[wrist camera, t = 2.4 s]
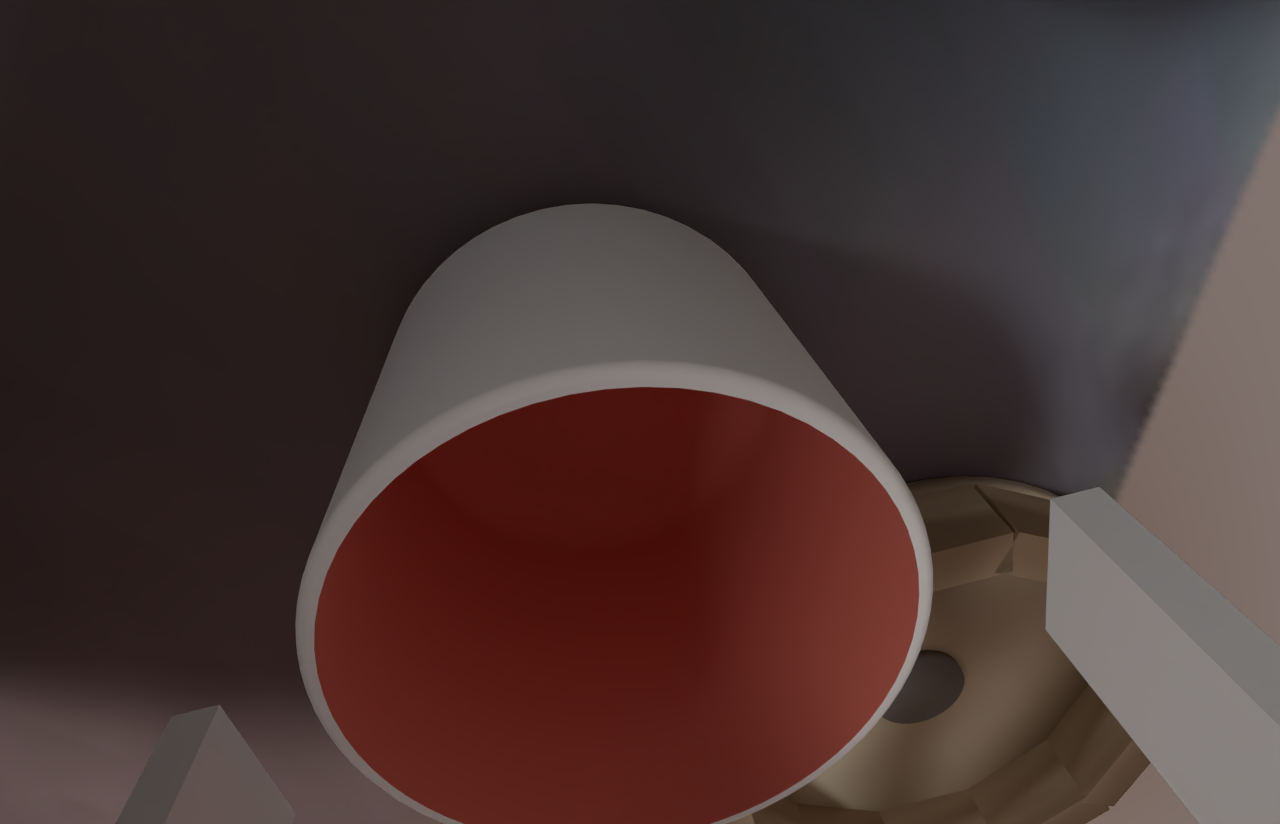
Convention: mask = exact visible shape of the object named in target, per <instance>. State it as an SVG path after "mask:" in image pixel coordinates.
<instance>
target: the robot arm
mask: <svg viewBox="0 0 1280 824" xmlns="http://www.w3.org/2000/svg"><path fill="white" fill-rule="evenodd" d="M1045 630H1046V631H1047V632H1048V633H1049V635H1050V636H1051V637H1052V638H1053V640H1054V641H1055V642H1056V643H1057V645H1058V646H1059V647H1060V648H1061V650H1062V651H1063V652H1064V653H1065V655H1066V656H1067V657H1068V659H1069V660H1070V661H1071V662H1072V664H1073V665H1074V666H1075V667H1076V669H1077V670H1078V671H1079V672H1080V674H1081V675H1082V676H1083V677H1084V679H1085V680H1086V681H1087V683H1088V684H1089V685H1090V686H1091V688H1092V689H1093V690H1094V691H1095V693H1096V694H1097V695H1098V696H1099V698H1100V699H1101V700H1102V701H1103V703H1104V704H1105V705H1106V706H1107V708H1108V709H1109V710H1110V712H1111V713H1112V714H1113V715H1114V717H1115V718H1116V719H1117V720H1118V722H1119V723H1120V724H1121V725H1122V727H1123V728H1124V729H1125V730H1126V732H1127V733H1128V734H1129V736H1130V737H1131V738H1132V739H1133V741H1134V742H1135V743H1136V744H1137V746H1138V747H1139V748H1140V749H1141V751H1142V752H1143V753H1144V754H1145V756H1146V757H1147V758H1148V759H1149V761H1150V762H1151V763H1152V764H1153V766H1154V767H1155V768H1156V770H1157V771H1158V772H1159V773H1160V775H1161V776H1162V777H1163V778H1164V780H1165V781H1166V782H1167V783H1168V785H1169V786H1170V787H1171V789H1172V790H1173V791H1174V792H1175V794H1176V795H1177V796H1178V797H1179V798H1180V800H1181V801H1182V802H1183V804H1184V805H1185V806H1186V807H1187V808H1188V810H1189V811H1190V812H1191V814H1192V815H1193V816H1194V817H1195V819H1196V820H1197V821H1198V822H1199V824H1280V646H1279V645H1278V644H1277V643H1276V642H1275V641H1274V640H1272V639H1271V638H1270V637H1269V636H1268V635H1267V634H1266V633H1265V632H1263V631H1262V630H1261V629H1260V628H1259V627H1258V626H1256V625H1255V624H1254V623H1253V622H1252V621H1251V620H1250V619H1249V618H1248V617H1246V616H1245V615H1244V614H1243V613H1242V612H1241V611H1240V610H1238V609H1237V608H1236V607H1235V606H1234V605H1233V604H1232V603H1231V602H1229V601H1228V600H1227V599H1226V598H1225V597H1224V596H1222V595H1221V594H1220V593H1219V592H1218V591H1217V590H1216V589H1215V588H1214V587H1212V586H1211V585H1210V584H1209V583H1208V582H1207V581H1206V580H1204V579H1203V578H1202V577H1201V576H1200V575H1199V574H1198V573H1197V572H1195V571H1194V570H1193V569H1192V568H1191V567H1190V566H1188V565H1187V564H1186V563H1185V562H1184V561H1183V560H1182V559H1181V558H1179V557H1178V556H1177V555H1176V554H1175V553H1174V552H1173V551H1172V550H1170V549H1169V548H1168V547H1167V546H1166V545H1165V544H1164V543H1163V542H1161V541H1160V540H1159V539H1158V538H1157V537H1156V536H1155V535H1153V534H1152V533H1151V532H1150V531H1149V530H1148V529H1147V528H1146V527H1144V526H1143V525H1142V524H1141V523H1140V522H1139V521H1138V520H1136V519H1135V518H1134V517H1133V516H1132V515H1131V514H1130V513H1128V512H1127V511H1126V510H1125V509H1124V508H1123V507H1122V506H1121V505H1119V504H1118V503H1117V502H1116V501H1115V500H1114V499H1113V498H1111V497H1110V496H1109V495H1108V494H1107V493H1106V492H1105V491H1104V490H1102V489H1101V488H1100V487H1097V488H1093V489H1089V490H1084V491H1080V492H1076V493H1072V494H1068V495H1064V496H1060V497H1056V498H1052V499H1050V521H1049V547H1048V573H1047V600H1046V626H1045ZM295 814H296V813H295V812H294V810H293V809H292V808H291V806H290V805H289V803H288V802H287V800H286V799H285V798H284V796H283V795H282V793H281V792H280V790H279V789H278V788H277V786H276V785H275V783H274V782H273V780H272V779H271V778H270V776H269V775H268V773H267V772H266V770H265V769H264V768H263V766H262V765H261V763H260V762H259V760H258V759H257V758H256V756H255V755H254V753H253V752H252V750H251V749H250V747H249V746H248V745H247V743H246V742H245V740H244V739H243V737H242V736H241V735H240V733H239V732H238V730H237V729H236V727H235V726H234V725H233V723H232V722H231V720H230V719H229V717H228V716H227V715H226V713H225V712H224V710H223V709H222V707H221V706H220V705H215V706H211V707H207V708H203V709H199V710H195V711H191V712H187V713H183V714H179V715H175V716H171V718H170V720H169V722H168V724H167V726H166V728H165V730H164V732H163V734H162V735H161V737H160V739H159V741H158V743H157V745H156V747H155V749H154V751H153V753H152V755H151V757H150V759H149V761H148V762H147V764H146V766H145V768H144V770H143V772H142V774H141V776H140V778H139V780H138V782H137V784H136V786H135V787H134V789H133V791H132V793H131V795H130V797H129V799H128V801H127V803H126V805H125V807H124V809H123V811H122V812H121V814H120V816H119V818H118V820H117V822H116V824H293V821H294V817H295Z"/></svg>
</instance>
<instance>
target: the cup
mask: <svg viewBox="0 0 1280 824" xmlns="http://www.w3.org/2000/svg"><path fill="white" fill-rule="evenodd" d="M932 595H933V565H932V556H931V548H930V544H929V540H928V535H927V531H926V527H925V524H924V521H923V519H922V516H921V513H920V510H919V508H918V506H917V504H916V501H915V499H914V497H913V495H912V493H911V491H910V490H909V488H908V486H907V485H906V483H905V481H904V480H903V478H902V476H901V475H900V473H899V472H898V470H897V469H896V468H895V466H894V465H893V464H892V462H891V461H890V460H889V458H888V457H887V456H886V455H885V453H884V452H883V451H882V449H881V448H880V447H879V445H878V444H877V443H876V441H875V440H874V439H873V437H872V436H871V435H870V433H869V432H868V431H867V430H866V428H865V427H864V426H863V424H862V423H861V422H860V420H859V419H858V418H857V416H856V415H855V414H854V412H853V411H852V410H851V409H850V407H849V406H848V405H847V403H846V402H845V401H844V399H843V398H842V397H841V395H840V394H839V393H838V391H837V390H836V389H835V388H834V386H833V385H832V384H831V382H830V381H829V380H828V378H827V377H826V376H825V374H824V373H823V372H822V370H821V369H820V368H819V366H818V365H817V364H816V363H815V361H814V360H813V359H812V357H811V356H810V355H809V353H808V352H807V351H806V349H805V348H804V347H803V345H802V344H801V343H800V342H799V340H798V339H797V338H796V336H795V335H794V334H793V332H792V331H791V330H790V328H789V327H788V326H787V324H786V323H785V322H784V321H783V319H782V318H781V317H780V315H779V314H778V313H777V311H776V310H775V309H774V307H773V306H772V305H771V303H770V302H769V301H768V299H767V298H766V297H765V296H764V294H763V293H762V292H761V290H760V289H759V288H758V286H757V285H756V284H755V282H754V281H753V280H752V279H751V277H750V276H749V275H748V274H747V272H746V271H745V270H744V269H743V268H742V267H741V266H740V265H739V264H738V263H737V262H736V261H735V260H734V259H733V258H732V257H731V256H730V255H729V254H728V253H727V252H725V251H724V250H723V249H722V248H720V247H719V246H718V245H717V244H715V243H714V242H713V241H711V240H710V239H708V238H707V237H705V236H703V235H702V234H700V233H698V232H697V231H695V230H693V229H692V228H690V227H688V226H686V225H684V224H681V223H679V222H677V221H675V220H673V219H670V218H668V217H665V216H662V215H659V214H656V213H653V212H649V211H646V210H643V209H637V208H632V207H626V206H621V205H610V204H593V203H590V204H573V205H563V206H557V207H551V208H546V209H540V210H537V211H534V212H530V213H527V214H524V215H520V216H517V217H515V218H512V219H510V220H508V221H505V222H503V223H501V224H498V225H496V226H494V227H492V228H490V229H489V230H487V231H485V232H483V233H481V234H480V235H478V236H476V237H474V238H473V239H472V240H470V241H469V242H467V243H466V244H465V245H463V246H462V247H461V248H459V249H458V250H456V251H455V252H454V253H453V254H452V255H451V256H450V257H449V258H448V259H446V260H445V261H444V262H443V263H442V264H441V265H440V266H439V267H438V268H437V269H436V270H435V272H434V273H433V274H432V275H431V276H430V277H429V278H428V279H427V281H426V282H425V283H424V284H423V286H422V287H421V288H420V290H419V291H418V293H417V294H416V296H415V297H414V299H413V300H412V302H411V304H410V306H409V307H408V309H407V311H406V313H405V315H404V317H403V319H402V321H401V324H400V326H399V328H398V330H397V333H396V335H395V338H394V340H393V343H392V346H391V348H390V351H389V353H388V356H387V358H386V361H385V364H384V366H383V369H382V371H381V374H380V376H379V379H378V381H377V384H376V387H375V389H374V392H373V394H372V397H371V399H370V402H369V405H368V407H367V410H366V412H365V415H364V417H363V420H362V422H361V425H360V428H359V430H358V433H357V435H356V438H355V440H354V443H353V445H352V448H351V450H350V453H349V456H348V458H347V461H346V463H345V466H344V468H343V471H342V473H341V476H340V478H339V481H338V484H337V486H336V489H335V491H334V494H333V496H332V499H331V501H330V504H329V506H328V509H327V512H326V514H325V517H324V519H323V522H322V524H321V527H320V529H319V532H318V534H317V537H316V540H315V542H314V545H313V547H312V550H311V552H310V555H309V557H308V560H307V564H306V567H305V570H304V573H303V576H302V580H301V584H300V589H299V594H298V600H297V608H296V621H295V631H296V650H297V656H298V662H299V668H300V672H301V676H302V679H303V682H304V686H305V689H306V692H307V695H308V697H309V699H310V702H311V704H312V706H313V708H314V711H315V713H316V715H317V717H318V718H319V720H320V722H321V723H322V725H323V727H324V729H325V730H326V732H327V733H328V735H329V736H330V737H331V739H332V740H333V742H334V743H335V744H336V746H337V747H338V748H339V749H340V751H341V752H342V753H343V754H344V755H345V756H346V757H347V758H348V760H349V761H350V762H351V763H352V764H353V765H354V766H355V767H356V768H357V769H358V770H359V771H360V772H361V773H363V774H364V775H365V776H366V777H367V778H368V779H369V780H371V781H372V782H374V783H375V784H376V785H378V786H379V787H380V788H382V789H383V790H384V791H386V792H387V793H389V794H390V795H391V796H393V797H394V798H395V799H397V800H398V801H400V802H402V803H403V804H405V805H407V806H409V807H411V808H412V809H414V810H416V811H418V812H419V813H421V814H424V815H426V816H428V817H430V818H432V819H435V820H437V821H439V822H441V823H444V824H727V823H730V822H733V821H735V820H738V819H741V818H743V817H745V816H747V815H750V814H752V813H754V812H757V811H759V810H761V809H763V808H765V807H767V806H769V805H771V804H773V803H775V802H777V801H779V800H781V799H783V798H785V797H786V796H788V795H790V794H791V793H793V792H795V791H796V790H798V789H800V788H801V787H803V786H804V785H806V784H808V783H809V782H811V781H812V780H813V779H815V778H816V777H818V776H819V775H820V774H822V773H823V772H825V771H826V770H827V769H829V768H830V767H831V766H833V765H834V764H835V763H836V762H837V761H839V760H840V759H841V758H842V757H843V756H845V755H846V754H847V753H848V752H849V751H850V750H851V749H852V748H853V747H854V746H855V745H856V744H858V743H859V742H860V741H861V740H862V739H863V738H864V737H865V736H866V734H867V733H868V732H869V731H870V730H871V729H872V728H873V727H874V726H875V725H876V723H877V722H878V721H879V720H880V718H881V717H882V716H883V715H884V713H885V712H886V711H887V710H888V708H889V707H890V706H891V704H892V703H893V701H894V700H895V698H896V697H897V695H898V694H899V692H900V691H901V689H902V687H903V685H904V683H905V682H906V680H907V678H908V676H909V674H910V672H911V671H912V668H913V666H914V664H915V661H916V659H917V657H918V654H919V652H920V650H921V647H922V643H923V640H924V637H925V634H926V631H927V627H928V622H929V617H930V613H931V605H932Z"/></svg>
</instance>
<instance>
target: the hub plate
mask: <svg viewBox="0 0 1280 824" xmlns="http://www.w3.org/2000/svg"><path fill="white" fill-rule="evenodd" d="M906 485H907V486H908V488H909V490H910V491H911V493H912V495H913V497H914V499H915V501H916V504H917V506H918V508H919V510H920V513H921V516H922V519H923V521H924V524H925V527H926V531H927V535H928V540H929V544H930V548H931V556H932V565H933V595H932V605H931V613H930V617H929V622H928V627H927V631H926V634H925V637H924V640H923V643H922V647H921V650H920V652H919V654H918V657H917V659H916V661H915V664H914V666H913V668H912V671H911V672H910V674H909V676H908V678H907V680H906V682H905V683H904V685H903V687H902V689H901V691H900V692H899V694H898V695H897V697H896V698H895V700H894V701H893V703H892V704H891V706H890V707H889V708H888V710H887V711H886V712H885V713H884V715H883V716H882V717H881V718H880V720H879V721H878V722H877V723H876V725H875V726H874V727H873V728H872V729H871V730H870V731H869V732H868V733H867V734H866V736H865V737H864V738H863V739H862V740H861V741H860V742H859V743H858V744H856V745H855V746H854V747H853V748H852V749H851V750H850V751H849V752H848V753H847V754H846V755H845V756H843V757H842V758H841V759H840V760H839V761H837V762H836V763H835V764H834V765H833V766H831V767H830V768H829V769H827V770H826V771H825V772H823V773H822V774H820V775H819V776H818V777H816V778H815V779H813V780H812V781H811V782H809V783H808V784H806V785H804V786H803V787H801V788H800V789H798V790H796V791H795V792H793V793H791V794H790V795H788V796H786V797H785V798H783V799H781V800H779V801H777V802H775V803H773V804H771V805H769V806H767V807H765V808H763V809H761V810H759V811H757V812H754V813H752V814H750V815H747V816H745V817H743V818H741V819H738V820H735V821H733V822H730V823H727V824H1085V823H1087V822H1089V821H1090V820H1092V819H1094V818H1096V817H1097V816H1099V815H1101V814H1102V813H1104V812H1106V811H1107V810H1109V807H1108V806H1114V805H1115V804H1116V803H1117V801H1118V800H1119V799H1120V798H1121V797H1122V796H1123V794H1124V793H1125V792H1126V791H1127V790H1128V789H1129V787H1130V786H1131V785H1132V784H1133V783H1134V781H1135V780H1136V779H1137V778H1138V777H1139V775H1140V774H1141V773H1142V772H1143V771H1144V770H1145V768H1146V767H1147V766H1148V765H1149V764H1150V763H1151V762H1150V761H1149V759H1148V758H1147V757H1146V756H1145V754H1144V753H1143V752H1142V751H1141V749H1140V748H1139V747H1138V746H1137V744H1136V743H1135V742H1134V741H1133V739H1132V738H1131V737H1130V736H1129V734H1128V733H1127V732H1126V730H1125V729H1124V728H1123V727H1122V725H1121V724H1120V723H1119V722H1118V720H1117V719H1116V718H1115V717H1114V715H1113V714H1112V713H1111V712H1110V710H1109V709H1108V708H1107V706H1106V705H1105V704H1104V703H1103V701H1102V700H1101V699H1100V698H1099V696H1098V695H1097V694H1096V693H1095V691H1094V690H1093V689H1092V688H1091V686H1090V685H1089V684H1088V683H1087V681H1086V680H1085V679H1084V677H1083V676H1082V675H1081V674H1080V672H1079V671H1078V670H1077V669H1076V667H1075V666H1074V665H1073V664H1072V662H1071V661H1070V660H1069V659H1068V657H1067V656H1066V655H1065V653H1064V652H1063V651H1062V650H1061V648H1060V647H1059V646H1058V645H1057V643H1056V642H1055V641H1054V640H1053V638H1052V637H1051V636H1050V635H1049V633H1048V632H1047V631H1046V630H1045V626H1046V600H1047V573H1048V547H1049V521H1050V499H1052V498H1056V497H1060V496H1057V495H1055V494H1053V493H1051V492H1049V491H1047V490H1045V489H1042V488H1038V487H1035V486H1032V485H1028V484H1025V483H1022V482H1018V481H1012V480H1006V479H999V478H993V477H971V476H954V477H943V478H932V479H923V480H918V481H913V482H908V483H906ZM1107 805H1108V806H1107Z"/></svg>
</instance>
